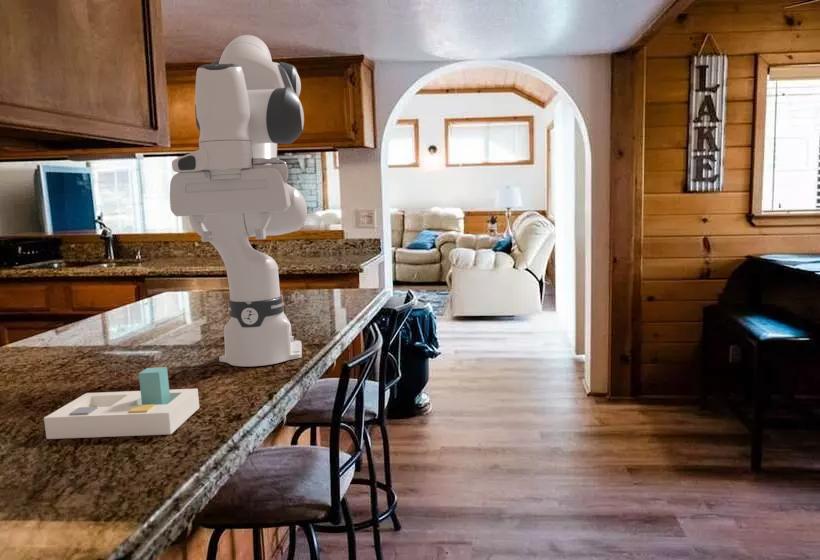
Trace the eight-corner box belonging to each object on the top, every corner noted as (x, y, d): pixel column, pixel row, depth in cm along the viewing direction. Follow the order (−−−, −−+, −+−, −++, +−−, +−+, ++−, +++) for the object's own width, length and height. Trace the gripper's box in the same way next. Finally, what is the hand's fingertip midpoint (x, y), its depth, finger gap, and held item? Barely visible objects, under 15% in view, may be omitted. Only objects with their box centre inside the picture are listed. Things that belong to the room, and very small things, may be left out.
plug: (151, 410, 114) (147, 367, 113) (171, 409, 114) (167, 367, 113) (143, 417, 110) (138, 373, 109) (163, 416, 110) (158, 372, 109)
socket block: (88, 412, 118) (86, 391, 117) (199, 407, 117) (197, 386, 117) (46, 439, 105) (43, 415, 105) (170, 434, 104) (168, 411, 104)
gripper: (291, 157, 117) (296, 236, 118) (176, 163, 117) (183, 241, 119) (283, 155, 110) (289, 238, 112) (162, 162, 111) (170, 244, 113)
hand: (234, 240), depth 116 cm, fingers open, 8 cm apart
